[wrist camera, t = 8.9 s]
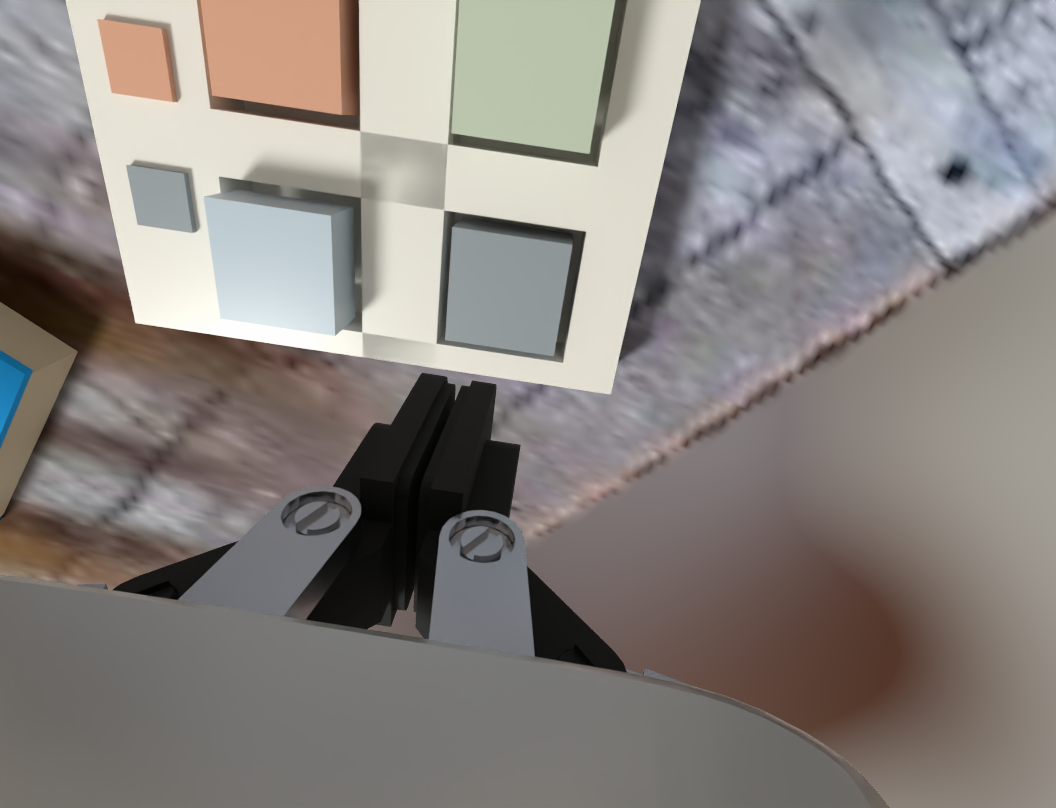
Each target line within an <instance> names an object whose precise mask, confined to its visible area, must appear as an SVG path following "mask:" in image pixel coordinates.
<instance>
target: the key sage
mask: <svg viewBox="0 0 1056 808" xmlns="http://www.w3.org/2000/svg"><path fill="white" fill-rule="evenodd" d="M614 5H615V0H459V14H458V31H457V48H456V65H455V81H454V98H453V115H452V132H451V133H453V134H460V135H466V136H473V137H480V138H486V139H493V140H500V141H506V142H513V143H519V144H526V145H533V146H539V147H546V148H553V149H559V150H566V151H573V152H579V153H586V154H589V153H590V147H591V141H592V135H593V130H594V124H595V118H596V112H597V106H598V100H599V94H600V88H601V82H602V76H603V70H604V65H605V59H606V53H607V47H608V41H609V35H610V29H611V23H612V17H613V11H614Z"/></svg>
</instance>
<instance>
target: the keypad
mask: <svg viewBox="0 0 1056 808" xmlns="http://www.w3.org/2000/svg"><path fill="white" fill-rule="evenodd" d="M700 2H701V0H615V5H614V11H613V17H612V23H611V29H610V35H609V41H608V47H607V53H606V59H605V65H604V70H603V76H602V82H601V88H600V94H599V100H598V106H597V112H596V118H595V124H594V130H593V135H592V141H591V147H590V153H589V154H586V153H579V152H573V151H566V150H559V149H553V148H546V147H539V146H533V145H526V144H519V143H513V142H506V141H500V140H493V139H486V138H480V137H473V136H466V135H460V134H453V133H451V132H452V115H453V98H454V81H455V65H456V48H457V31H458V14H459V0H359V54H360V116H358V115H338V114H332V113H325V112H319V111H312V110H305V109H299V108H292V107H285V106H279V105H272V104H265V103H259V102H252V101H246V100H239V99H232V98H226V97H219V96H212V90H211V82H210V74H209V66H208V58H207V49H206V41H205V33H204V25H203V17H202V8H201V0H66V4H67V8H68V13H69V18H70V22H71V27H72V31H73V36H74V41H75V45H76V50H77V55H78V59H79V64H80V68H81V73H82V78H83V82H84V87H85V92H86V96H87V101H88V105H89V110H90V115H91V119H92V124H93V128H94V133H95V138H96V142H97V147H98V152H99V156H100V161H101V165H102V170H103V175H104V179H105V184H106V189H107V193H108V198H109V202H110V207H111V212H112V216H113V221H114V225H115V230H116V235H117V239H118V244H119V249H120V253H121V258H122V262H123V267H124V272H125V276H126V281H127V286H128V290H129V295H130V299H131V304H132V309H133V313H134V318H135V322H136V323H140V324H146V325H153V326H160V327H166V328H173V329H179V330H186V331H193V332H199V333H206V334H213V335H219V336H226V337H233V338H239V339H246V340H253V341H259V342H266V343H272V344H279V345H286V346H292V347H299V348H306V349H312V350H319V351H326V352H332V353H339V354H346V355H352V356H359V357H365V358H372V359H379V360H385V361H392V362H399V363H405V364H412V365H419V366H425V367H432V368H439V369H445V370H452V371H458V372H465V373H472V374H478V375H485V376H492V377H498V378H505V379H512V380H518V381H525V382H532V383H538V384H545V385H552V386H558V387H565V388H571V389H578V390H585V391H591V392H598V393H605V394H611V390H612V386H613V381H614V377H615V373H616V368H617V364H618V360H619V355H620V351H621V346H622V342H623V338H624V333H625V329H626V325H627V320H628V316H629V312H630V307H631V303H632V299H633V294H634V290H635V285H636V281H637V277H638V272H639V268H640V264H641V259H642V255H643V251H644V246H645V242H646V237H647V233H648V229H649V224H650V220H651V216H652V211H653V207H654V203H655V198H656V194H657V189H658V185H659V181H660V176H661V172H662V168H663V163H664V159H665V155H666V150H667V146H668V141H669V137H670V133H671V128H672V124H673V120H674V115H675V111H676V107H677V102H678V98H679V94H680V89H681V85H682V80H683V76H684V72H685V67H686V63H687V59H688V54H689V50H690V46H691V41H692V37H693V32H694V28H695V24H696V19H697V15H698V11H699V6H700ZM234 190H245V191H251V192H258V193H265V194H271V195H278V196H285V197H291V198H298V199H305V200H311V201H318V202H324V203H331V204H338V205H344V206H351V207H354V258H355V317H356V318H354V319H353V320H352V321H351V322H350V323H349V324H348V325H347V326H346V327H345V328H343V329H342V330H341V331H340V332H339V333H338V334H337V335H336V336H332V335H325V334H319V333H312V332H305V331H299V330H292V329H285V328H279V327H272V326H265V325H259V324H252V323H246V322H239V321H232V320H226V319H220V311H219V304H218V297H217V290H216V283H215V275H214V268H213V261H212V254H211V247H210V239H209V232H208V225H207V218H206V211H205V203H204V196H209V195H214V194H219V193H224V192H229V191H234ZM462 218H470V219H477V220H483V221H490V222H497V223H503V224H510V225H517V226H523V227H530V228H536V229H543V230H550V231H556V232H563V233H570V234H572V240H573V246H572V252H571V257H570V263H569V269H568V275H567V281H566V287H565V293H564V299H563V305H562V311H561V317H560V323H559V329H558V335H557V341H556V347H555V353H554V356H548V355H541V354H535V353H528V352H521V351H515V350H508V349H501V348H495V347H488V346H482V345H475V344H468V343H462V342H455V341H448V340H445V332H446V317H447V302H448V286H449V271H450V256H451V240H452V227H453V226H454V225H455V224H456V223H457V222H458V221H460V220H461V219H462Z"/></svg>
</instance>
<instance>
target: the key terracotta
mask: <svg viewBox="0 0 1056 808" xmlns="http://www.w3.org/2000/svg"><path fill="white" fill-rule="evenodd" d="M201 8H202V17H203V25H204V33H205V41H206V49H207V58H208V66H209V74H210V82H211V90H212V96H219V97H226V98H232V99H239V100H246V101H252V102H259V103H265V104H272V105H279V106H285V107H292V108H299V109H305V110H312V111H319V112H325V113H332V114H338V115H358V116H360V54H359V0H201Z"/></svg>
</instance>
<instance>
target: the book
mask: <svg viewBox="0 0 1056 808" xmlns="http://www.w3.org/2000/svg"><path fill="white" fill-rule="evenodd" d="M77 353H78V351H76V350H75V349H73V348H71V347H70V346H68V345H67V344H65V343H64V342H62V341H60V340H59V339H57V338H56V337H54V336H53V335H51V334H49V333H48V332H46V331H45V330H43V329H42V328H40V327H39V326H37V325H35V324H34V323H32V322H31V321H29V320H28V319H26V318H24V317H23V316H21V315H20V314H18V313H17V312H15V311H14V310H12V309H10V308H9V307H7V306H6V305H4V304H3V303H1V302H0V520H1V519H2V518H3V517H2V515H3V514H4V512H5V510H6V508H7V506H8V504H9V501H10V499H11V497H12V495H13V493H14V490H15V488H16V486H17V484H18V482H19V480H20V477H21V475H22V473H23V471H24V469H25V466H26V464H27V462H28V460H29V458H30V455H31V453H32V451H33V449H34V447H35V445H36V442H37V440H38V438H39V436H40V434H41V431H42V429H43V427H44V425H45V423H46V420H47V418H48V416H49V414H50V412H51V410H52V407H53V405H54V403H55V401H56V399H57V396H58V394H59V392H60V390H61V388H62V386H63V383H64V381H65V379H66V377H67V375H68V372H69V370H70V368H71V366H72V364H73V361H74V359H75V357H76V355H77Z"/></svg>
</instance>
